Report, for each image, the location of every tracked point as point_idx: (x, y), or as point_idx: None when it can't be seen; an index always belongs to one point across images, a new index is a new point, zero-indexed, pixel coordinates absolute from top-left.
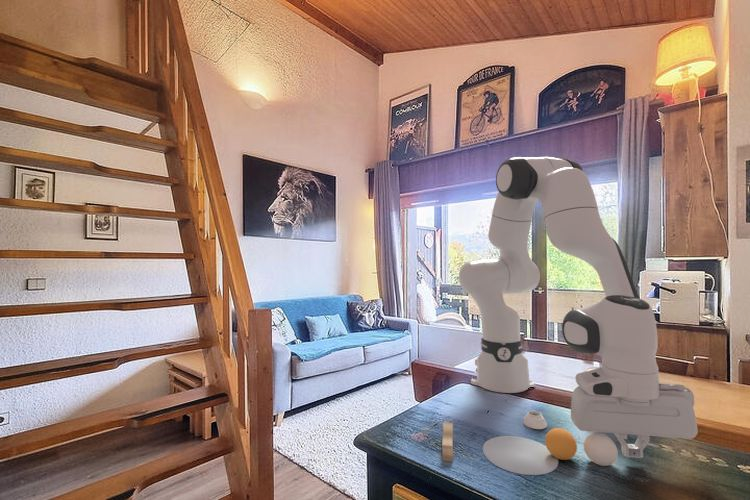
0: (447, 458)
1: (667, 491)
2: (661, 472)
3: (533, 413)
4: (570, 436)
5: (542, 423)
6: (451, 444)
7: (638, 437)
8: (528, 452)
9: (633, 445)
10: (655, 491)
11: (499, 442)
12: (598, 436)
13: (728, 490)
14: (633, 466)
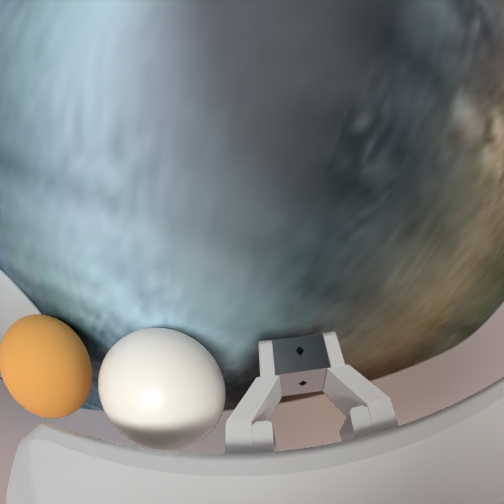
0: None
1: (319, 392)
2: (364, 334)
3: None
4: (63, 413)
5: None
6: None
7: (358, 396)
8: (5, 320)
9: (315, 375)
10: (289, 398)
11: None
12: (148, 447)
13: (453, 343)
14: (287, 330)
